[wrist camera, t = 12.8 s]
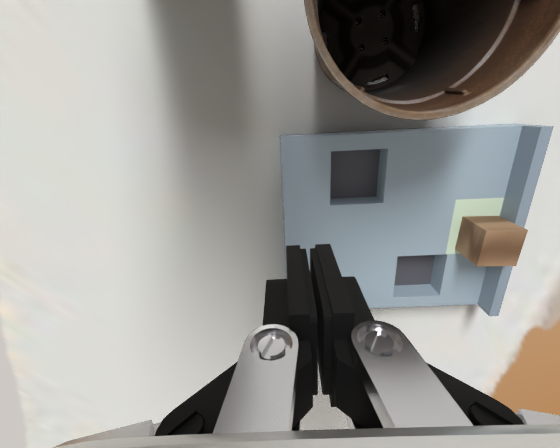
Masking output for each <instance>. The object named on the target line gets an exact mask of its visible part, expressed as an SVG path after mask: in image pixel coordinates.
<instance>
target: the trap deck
mask: <svg viewBox="0 0 560 448" xmlns="http://www.w3.org/2000/svg"><path fill="white" fill-rule="evenodd" d="M552 130H553V126H540V125H525V124H497V125H478V126H458V127H439V128H419V129H400V130H381V131H361V132H342V133H322V134H303V135H283V136H280V149H281V170H282V191H283V212H284V233H285V254H286V246H290V245H300V249H306V252H307V258H308V264H309V269H310V248H315V244H330V245H331V248H332V250H333V253H334V256H335V259H336V262H337V264H338V267H339V270H340V273H341V275H342V277H350V276H354V277H355V278H356V280H357V282H358V284H359V287H360V289H361V291H362V293H363V296H364V298H365V300H366V302H367V305H368V307H369V308H392V307H418V306H444V305H470V304H478V305H479V306H480V307H481V308H482V309H483V310H484V311H485V312H486V313H487V314H488V315H489V316H498V315H499V312H500V308H501V305H502V301H503V298H504V294H505V291H506V288H507V284H508V281H509V277H510V274H511V270H512V267H513V266H476V265H474V264H473V263H472V262H471V261H469V260H468V259H467V258H466V257H464V256H463V255H462V254H461V253H459V252H458V251H457V250H456V249H455V246H456V242H457V238H458V233H459V229H460V225H461V221H462V216H500V217H502V218H504V219H506V220H508V221H510V222H512V223H514V224H516V225H518V226H520V227H522V228H524V226H525V222H526V219H527V216H528V212H529V209H530V205H531V202H532V198H533V195H534V192H535V188H536V185H537V181H538V178H539V174H540V171H541V168H542V164H543V161H544V157H545V154H546V150H547V147H548V144H549V140H550V137H551V133H552ZM286 275H287V262H286Z"/></svg>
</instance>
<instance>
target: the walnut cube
mask: <svg viewBox="0 0 560 448" xmlns="http://www.w3.org/2000/svg"><path fill="white" fill-rule="evenodd" d="M527 231H528V230H526V229H524V228H522V227H520V226H518V225H516V224H514V223H512V222H510V221H508V220H506V219H504V218H502V217H500V216H462V221H461V225H460V229H459V233H458V238H457V242H456V246H455V249H456V250H457V251H458V252H459V253H461V254H462V255H463V256H464V257H466V258H467V259H468V260H469V261H471V262H472V263H473V264H474V265H476V266H516V264H517V261H518V258H519V255H520V252H521V249H522V246H523V243H524V240H525V237H526V234H527Z"/></svg>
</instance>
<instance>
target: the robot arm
mask: <svg viewBox="0 0 560 448" xmlns="http://www.w3.org/2000/svg"><path fill="white" fill-rule="evenodd" d="M286 262H287V279H276V280H267V282H266V293H265V305H264V317H263V326H261V327H259V328H257V329H255V330H253V331H252V332H251V333H250V334H249V335H248V337H247V338H246V340H245V343H244V345H243V348H242V351H241V354H240V357H239V360H238V362H236V363H235V364H234V365H232V366H231V367H230V368H228V369H227V370H226V371H225V372H223V373H222V374H221V375H219V376H218V377H217V378H215V379H214V380H213V381H211V382H210V383H209V384H207V385H206V386H205V387H203V388H202V389H201V390H199V391H198V392H197V393H195V394H194V395H193V396H191V397H190V398H189V399H187V400H186V401H185V402H183V403H182V404H181V405H179V406H178V407H177V408H175V409H174V410H173V411H172V412H170V413H169V414H168V415H167V416H166V417H165V418H164V419H163V421H162V422H161V423H157V424H153V423H152V420H149V421H145V422H141V423H137V424H133V425H129V426H125V427H121V428H117V429H114V430H110V431H106V432H102V433H98V434H94V435H90V436H86V437H82V438H78V439H75V440H71V441H67V442H65V443H63V444H60V445H58V446H56V447H54V448H560V416H559V415H554V414H548V413H542V412H536V411H530V410H524V409H519V411H518V413H514V412H513V411H512V410H511V409H509V408H508V407H507V406H505V405H503V404H502V403H500V402H499V401H497V400H495V399H493V398H492V397H490V396H488V395H486V394H484V393H482V392H480V391H478V390H477V389H475V388H473V387H471V386H469V385H467V384H465V383H463V382H462V381H460V380H458V379H456V378H454V377H452V376H450V375H448V374H447V373H445V372H443V371H441V370H439V369H437V368H435V367H433V366H432V365H430V364H428V363H426V362H425V361H424V360H423V358H422V357H421V356H420V354H419V353H418V352H417V350H416V349H415V348H414V346H413V345H412V344H411V342H410V341H409V340H408V338H407V337H406V336H405V335H404V334H403V333H402V332H401V331H400V330H399V329H398V328H396V327H394V326H393V325H391V324H388V323H385V322H381V321H374V318H373V316H372V314H371V312H370V309H369V307H368V305H367V302H366V300H365V298H364V296H363V293H362V291H361V289H360V287H359V284H358V282H357V280H356V278H355V277H354V276H350V277H342V275H341V273H340V270H339V267H338V264H337V262H336V259H335V256H334V253H333V250H332V248H331V245H330V244H315V248H310V269H309V264H308V258H307V252H306V249H300V245H290V246H286ZM318 366H319V373H320V379H321V386H322V393H323V395H328V394H329V396H330V402H331V407H337V408H339V409H340V410H341V411H342V412H344V413H345V414H346V415H347V423H348V427H349V429H337V430H304V431H301V419H302V418H303V417H304V416H305V415H306V414H307V413H308V411H309V410H310V409H311V408H312V407H313V395H317V394H318Z"/></svg>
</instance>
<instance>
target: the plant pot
mask: <svg viewBox="0 0 560 448" xmlns="http://www.w3.org/2000/svg"><path fill="white" fill-rule="evenodd" d="M304 4H305V10H306V16H307V20H308V25H309V28H310V32H311V35H312V38H313V40H314V43H315V49H316V54H317V57H318V60H319V63H320V65H321V67H322V69H323V71H324V73H325V74H326V75H327V77H328V78H329V79H330V80H331V81H332V82H333V83H334V84H336V85H337V86H338V87H340V88H342V89H344V90H346V91H347V92H348V93H349V94H350V95H351V96H352V97H354V98H355V99H356V100H358V101H359V102H361V103H362V104H364V105H366V106H368V107H369V108H371V109H373V110H376V111H378V112H381V113H383V114H386V115H390V116H393V117H397V118H403V119H411V120H429V119H437V118H443V117H448V116H452V115H455V114H458V113H461V112H464V111H466V110H469V109H471V108H474V107H476V106H478V105H480V104H482V103H484V102H486V101H488V100H489V99H491V98H493V97H495V96H496V95H498V94H499V93H501V92H502V91H504V90H505V89H506V88H508V87H509V86H510V85H512V84H513V83H514V82H515V81H516V80H518V79H519V78H520V77H521V76H522V75H523V74H524V73H525V72H526V71H527V70H528V69H529V68H530V67H531V66H532V65H533V64H534V63H535V62H536V61H537V60H538V59H539V58H540V57H541V55H542V54H543V53H544V52H545V51H546V49H547V48H548V47H549V46H550V44H551V43H552V42H553V40H554V39H555V37H556V36H557V35H558V33H559V32H560V0H304ZM414 4H417V5H418V11H419V28H418V32H415V29H414V18H413V11H412V6H413V5H414ZM382 10H384V11H385V16H384V17H383V18H381V17H380V16H379V15H380V11H382ZM358 17H360V18H361V19H362V21H361V23H360V24H359V25H357V24H356V22H355V21H356V19H357V18H358ZM323 32H326V33H327V34H328V39H327V40H328V46H329V51H330V53H329V52H328V50H327V47H326V45H325V42H324V39H323V36H322V34H323ZM384 38H387V39H388V43H387V44H385V45H384V44H382V41H383V39H384ZM360 45H364V47H365V48H364V50H363V51H359V46H360ZM384 75H388V79H387V80H386V81H384V82H381V83H378V84H374V85H365V84H366V82H367V81H368V80H374V79H377V78H380V77H382V76H384Z"/></svg>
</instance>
